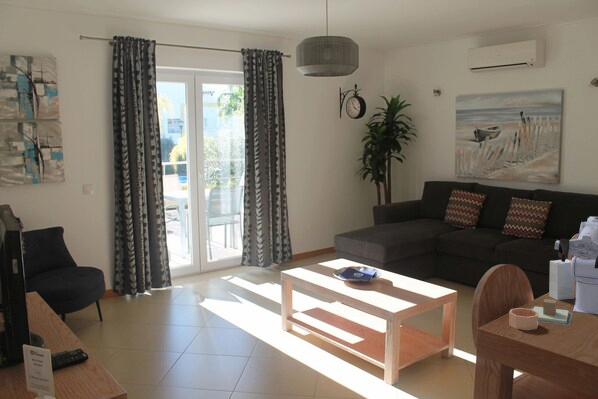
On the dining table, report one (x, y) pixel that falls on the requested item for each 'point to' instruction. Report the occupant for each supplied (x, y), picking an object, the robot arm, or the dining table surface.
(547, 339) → the dining table surface
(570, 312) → the grey mat
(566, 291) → the skincare box
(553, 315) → the sage lid
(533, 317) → the terracotta bowl
